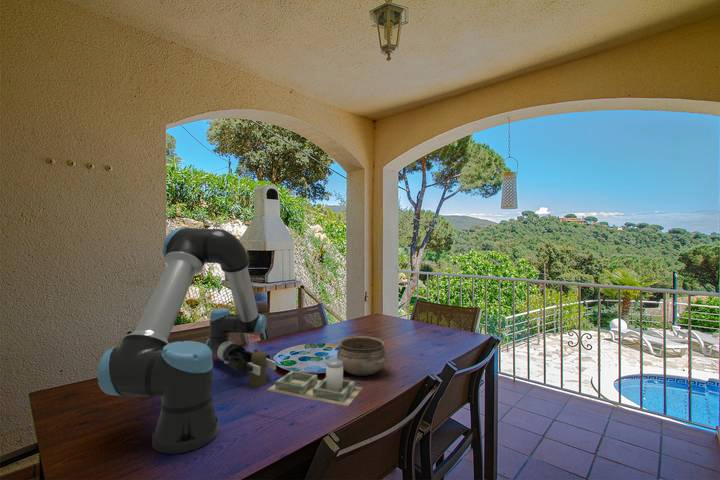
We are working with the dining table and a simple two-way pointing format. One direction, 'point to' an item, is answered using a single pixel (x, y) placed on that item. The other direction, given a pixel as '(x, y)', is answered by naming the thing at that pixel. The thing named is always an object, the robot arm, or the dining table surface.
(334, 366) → the salt shaker
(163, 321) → the robot arm
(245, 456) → the dining table surface
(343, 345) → the cooking pot
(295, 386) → the condiment caddy
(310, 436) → the dining table surface
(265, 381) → the pepper mill
